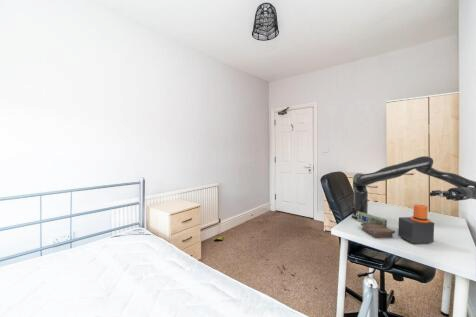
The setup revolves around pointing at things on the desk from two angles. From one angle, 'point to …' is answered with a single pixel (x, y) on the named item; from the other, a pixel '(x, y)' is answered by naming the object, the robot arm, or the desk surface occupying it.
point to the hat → (420, 214)
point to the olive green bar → (370, 218)
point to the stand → (377, 230)
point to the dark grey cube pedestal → (416, 231)
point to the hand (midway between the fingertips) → (438, 195)
